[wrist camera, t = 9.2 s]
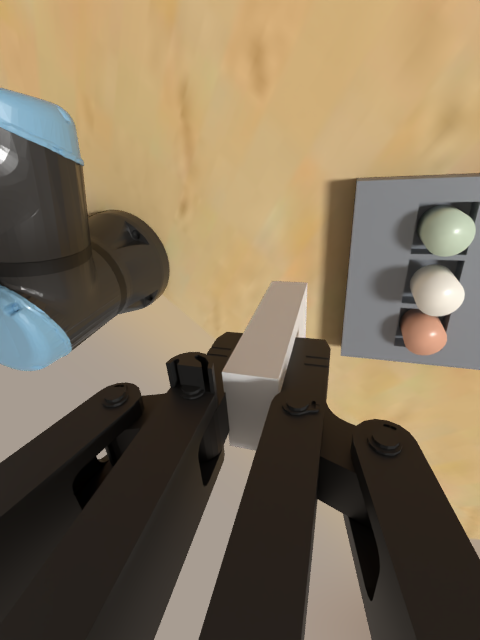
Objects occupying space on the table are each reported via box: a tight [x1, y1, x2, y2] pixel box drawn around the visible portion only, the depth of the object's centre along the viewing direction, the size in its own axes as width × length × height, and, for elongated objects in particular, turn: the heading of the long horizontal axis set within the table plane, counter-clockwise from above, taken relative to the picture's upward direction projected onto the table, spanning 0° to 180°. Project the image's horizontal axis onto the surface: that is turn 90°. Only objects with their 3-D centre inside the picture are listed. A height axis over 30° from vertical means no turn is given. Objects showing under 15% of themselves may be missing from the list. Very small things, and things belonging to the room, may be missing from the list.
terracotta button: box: [400, 309, 447, 355], centre depth 40 cm, size 4×4×4 cm
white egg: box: [410, 264, 465, 316], centre depth 36 cm, size 4×4×4 cm
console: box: [341, 173, 480, 370], centre depth 38 cm, size 18×22×3 cm
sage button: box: [417, 205, 476, 257], centre depth 34 cm, size 4×4×4 cm
